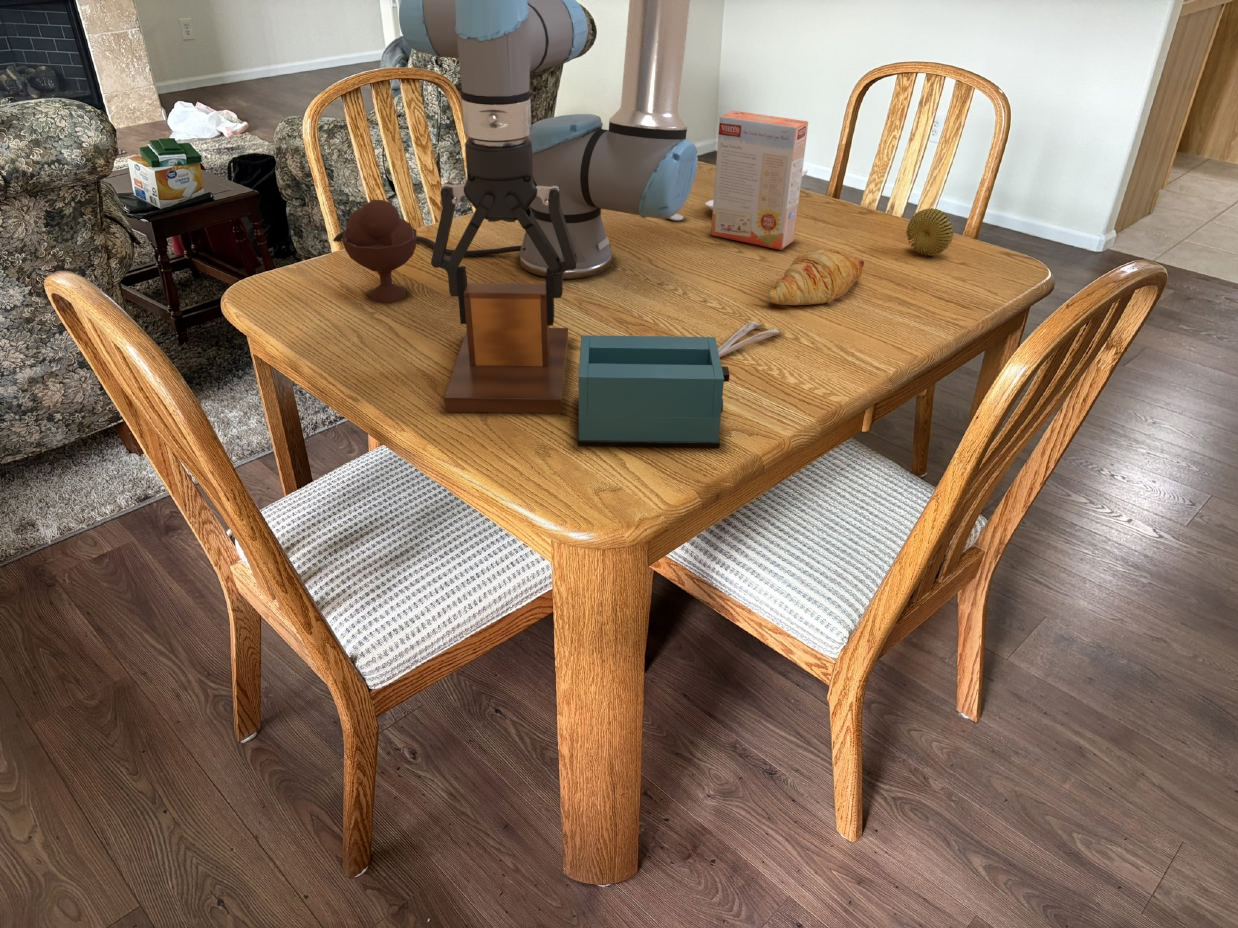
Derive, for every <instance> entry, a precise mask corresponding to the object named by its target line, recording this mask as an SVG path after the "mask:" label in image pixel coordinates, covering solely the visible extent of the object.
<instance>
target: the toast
mask: <svg viewBox="0 0 1238 928" xmlns="http://www.w3.org/2000/svg"><path fill="white" fill-rule="evenodd" d="M464 304H465V316H466V324H465V326H466V330H467V339H468V350H469V362H470V365H471V366H546V367H548V366H549V359H550V339H549V328H550V325H547V295H546V283H509V282H508V283H506V282H505V283H504V282H503V283H500V282H493V283H492V282H467V285H466V288H465V290H464Z"/></svg>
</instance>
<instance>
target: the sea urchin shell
mask: <svg viewBox="0 0 1238 928" xmlns="http://www.w3.org/2000/svg"><path fill="white" fill-rule="evenodd" d="M954 229H955V228H954V224H953V223H952V220H951V218H950V216H948V214H947V213H945V211H942V210H941V209H938V208H934V207H933V208H931V207H930V208H924V209H921V210H919V211H918V212H916V213H915V214H914V215H913V216H911V218H910V220H909V222H908V224H907V226H906V238H907V241H908V244H909V245H910V248H912V249H913V250H914V251H915V252H916V253H918V254H920V255H922V256H926V257H927V256H928V257H929V256H930V257H932V256H936V255H939V254H941V253H943V252H944V251H946V250H947V249H948V247H950V245H951V243H952V242H953V238H954Z"/></svg>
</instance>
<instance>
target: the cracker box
mask: <svg viewBox="0 0 1238 928" xmlns="http://www.w3.org/2000/svg"><path fill="white" fill-rule="evenodd" d="M718 123H719V125H718V136H717V146H716V148H717V150H716V159H715V160H716V161H715V162H716V164H715V175H714V187H713V199H714V201H713V210H712V217H711V230H710V231H711V232H710V235H711V236H713V237H718V238H721V239H722V238H723V239H726V240H727V239H728V240H732V241H737V242H742V243H746V244H750V245H756V246H760V247H765V248H769V249H770V248H771V249H775V250H778V251H779V250H780V251H781V250H783V249H785V248H786V247H788V246H789V245H790V244H792V243H794V242H795V234H796V227H797V226H796V225H797V221H798V220H797V218H798V211H799V210H798V209H799V204H800V202H799V201H800V195H801V194H800V193H801V185H802V179H803V177H802V172H803V171H804V170H803V169H804V163H805V153H806V144H807V138H808V127H809V121H808V120H803V119H802V120H801V119H795V118H787V117H780V116H774V115H767V114H759V113H752V112H747V111H739V110H732V111H730V112H728V113H726V114H722V115H721V116H719V122H718Z"/></svg>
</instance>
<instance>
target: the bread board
mask: <svg viewBox="0 0 1238 928" xmlns="http://www.w3.org/2000/svg"><path fill="white" fill-rule="evenodd" d="M464 333H465V334H464V337H463V340H462V343H461V345H460V349H459V352H458V355H457V358H456V361H455V364H454V367H453V370H452V374H451V377H450V379H449V383H448V386H447V389H446V392H445V395H444V406H445V412H446V413H451V412H452V413H499V414H500V413H509V414H514V413H515V414H520V413H521V414H561V413H562V407H563V396H564V387H565V377H566V368H567V359H568V358H567V357H568V349H569V327H549V339H550V359H549V366H548V367H546V366H471V365H470V362H469V350H468V339H467V329H465V332H464Z"/></svg>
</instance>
